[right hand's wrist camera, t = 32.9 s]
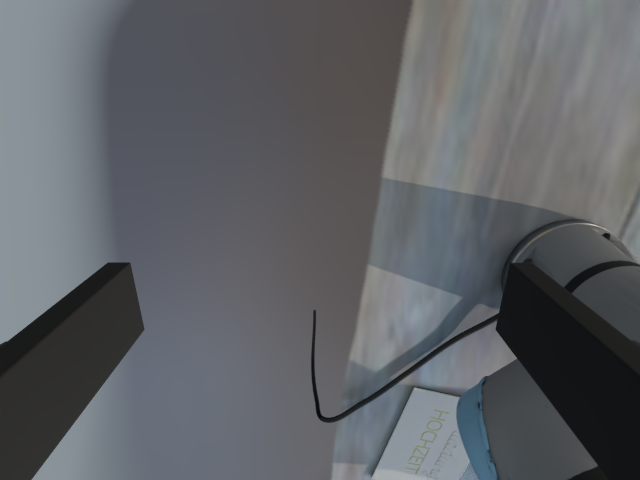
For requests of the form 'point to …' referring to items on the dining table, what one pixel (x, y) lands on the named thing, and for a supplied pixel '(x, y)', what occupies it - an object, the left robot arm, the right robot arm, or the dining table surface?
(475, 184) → the dining table surface
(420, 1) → the dining table surface
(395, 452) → the invitation card
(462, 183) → the dining table surface
